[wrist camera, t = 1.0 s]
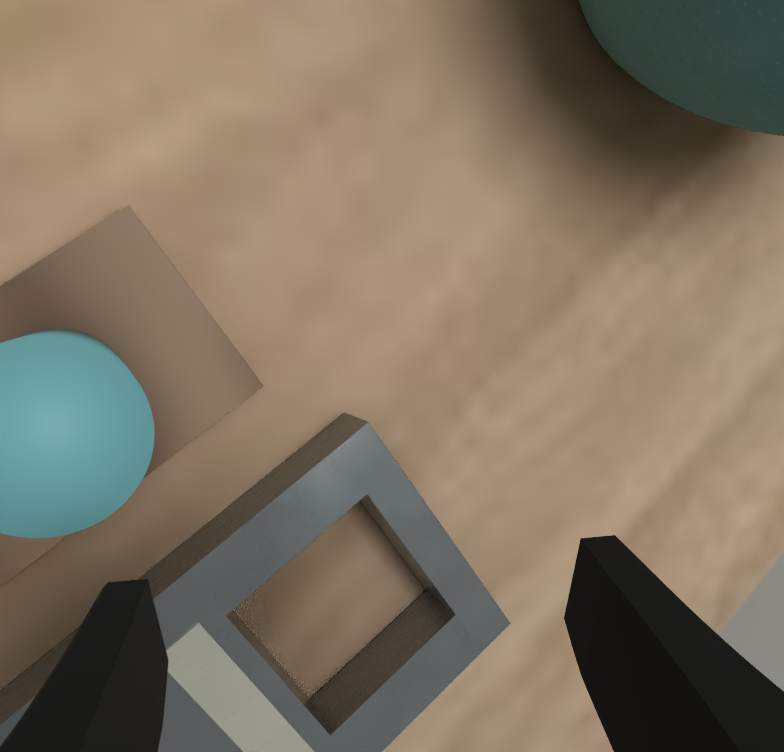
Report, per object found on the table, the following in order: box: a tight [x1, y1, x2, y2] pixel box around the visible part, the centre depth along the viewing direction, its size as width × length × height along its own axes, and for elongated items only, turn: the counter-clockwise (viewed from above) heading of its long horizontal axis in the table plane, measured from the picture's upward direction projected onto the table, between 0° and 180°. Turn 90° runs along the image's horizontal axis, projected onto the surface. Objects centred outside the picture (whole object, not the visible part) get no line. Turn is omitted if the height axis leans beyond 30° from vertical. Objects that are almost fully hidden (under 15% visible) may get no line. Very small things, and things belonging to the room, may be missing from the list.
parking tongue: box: [0, 205, 263, 587], centre depth 22 cm, size 10×7×2 cm
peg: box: [0, 329, 155, 538], centre depth 17 cm, size 4×4×8 cm
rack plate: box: [0, 413, 510, 752], centre depth 24 cm, size 17×10×3 cm, turn 126°
